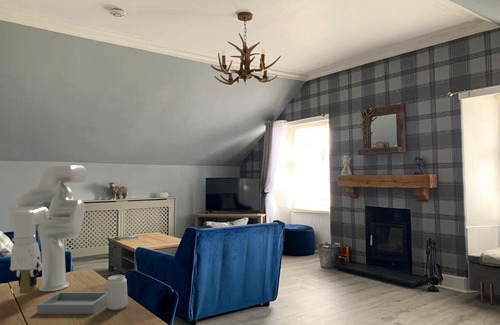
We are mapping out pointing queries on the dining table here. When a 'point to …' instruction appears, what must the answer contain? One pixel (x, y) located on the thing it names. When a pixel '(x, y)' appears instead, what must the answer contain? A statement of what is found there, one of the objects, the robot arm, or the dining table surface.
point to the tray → (73, 303)
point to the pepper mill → (26, 282)
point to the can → (116, 292)
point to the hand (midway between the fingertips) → (27, 285)
